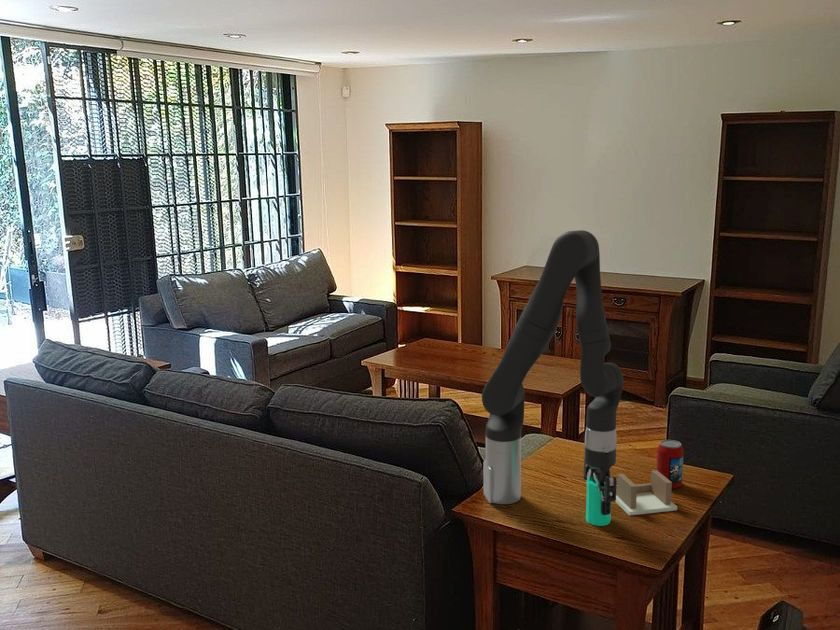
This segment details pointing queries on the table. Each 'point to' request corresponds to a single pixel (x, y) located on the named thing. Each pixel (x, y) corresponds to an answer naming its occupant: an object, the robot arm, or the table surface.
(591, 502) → the candle
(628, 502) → the holder
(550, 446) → the table surface
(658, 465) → the beverage can
